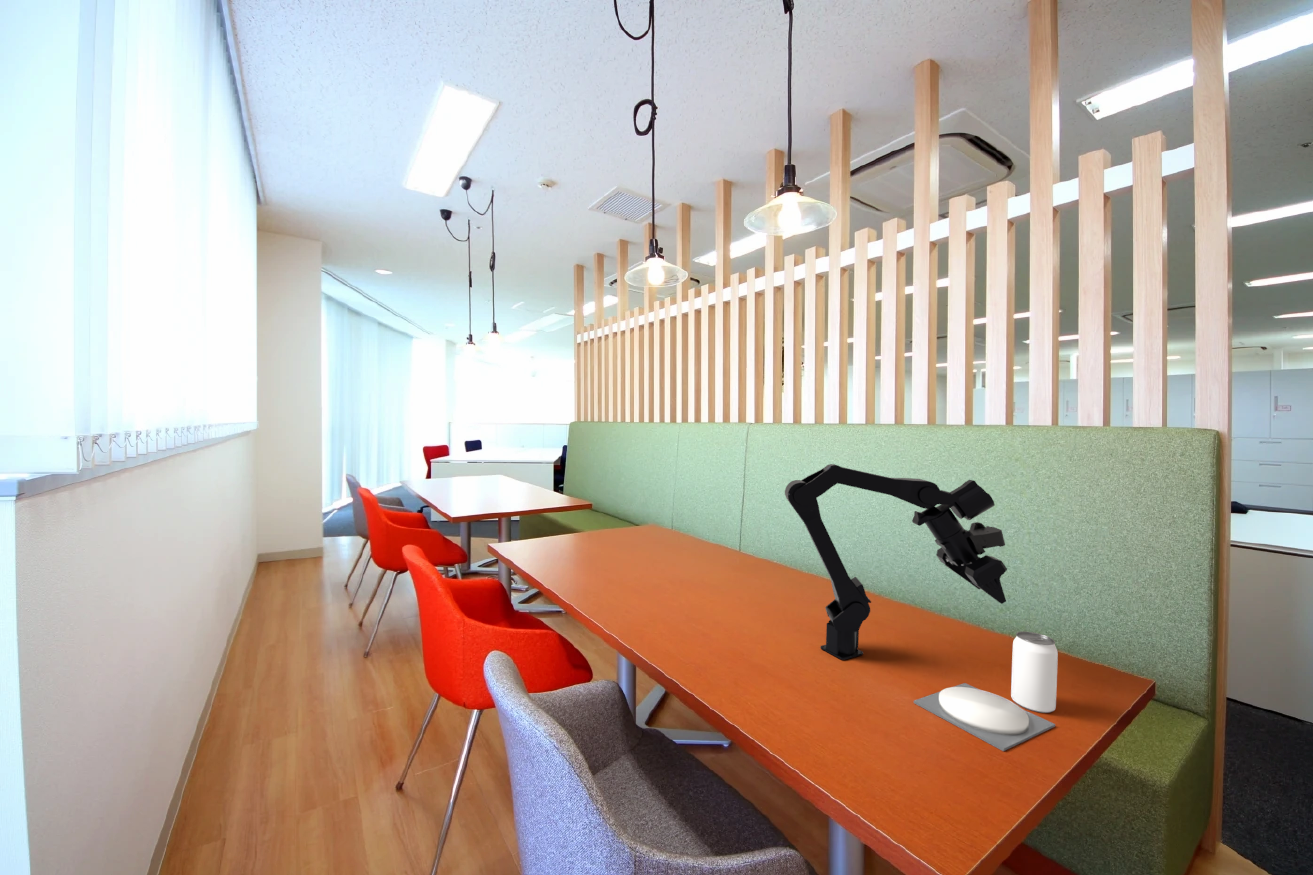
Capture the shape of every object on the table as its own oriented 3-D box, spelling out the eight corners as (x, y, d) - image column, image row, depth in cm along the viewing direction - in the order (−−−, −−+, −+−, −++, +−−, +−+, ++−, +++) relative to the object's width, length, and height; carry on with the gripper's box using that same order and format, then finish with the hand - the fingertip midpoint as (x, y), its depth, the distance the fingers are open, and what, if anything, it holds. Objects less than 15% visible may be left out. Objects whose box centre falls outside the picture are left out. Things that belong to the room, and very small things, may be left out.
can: (1002, 694, 94) (1004, 630, 94) (1034, 694, 95) (1037, 630, 94) (1030, 714, 88) (1033, 645, 87) (1065, 713, 88) (1068, 645, 88)
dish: (1003, 751, 77) (1003, 742, 77) (913, 702, 91) (913, 695, 91) (1055, 726, 84) (1055, 718, 84) (964, 684, 97) (964, 677, 97)
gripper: (1007, 519, 97) (1055, 589, 96) (962, 505, 116) (1003, 563, 114) (954, 549, 98) (1002, 619, 97) (919, 530, 117) (958, 588, 116)
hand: (991, 595), depth 106 cm, fingers open, 9 cm apart
